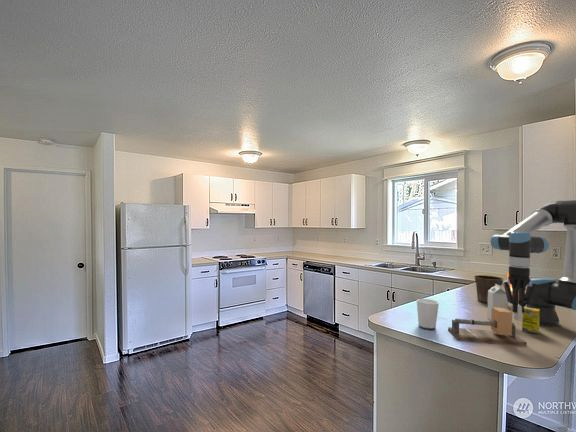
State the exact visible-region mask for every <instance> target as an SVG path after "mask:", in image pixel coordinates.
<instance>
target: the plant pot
mask: <svg viewBox="0 0 576 432" xmlns="http://www.w3.org/2000/svg"><path fill="white" fill-rule="evenodd" d="M473 276H474V277H473V278H474V282H475V285H476V297H477V301H478V302H482V303H484V304H488V290H490V289H491V288H492V287H494V286H495V284H497V285H499V286H501V287H502V286H503V284H502V281H504V278H502V277H499V276H494V275H486V274H485V275H484V274H483V275H481V274H479V275H477V274H476V275H473Z"/></svg>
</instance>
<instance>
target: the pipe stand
mask: <svg viewBox="0 0 576 432" xmlns="http://www.w3.org/2000/svg"><path fill="white" fill-rule="evenodd" d="M460 324H462V325H470V326H471V325H472V326H473V325H474V326H475V325H476V326H487V327H488V326H489V327H491V326H497V322H495V321H491V320H481V319H465V318H455V319H452V320H451V326H450V327H448V328H447V329H448V332H449V333H450V334H451V335H452V336H453V337H454V338H456V340H457V341H465V342H475V341H476V342H477V343H488V344H489V343H490V344H500V345H501V344H502V345H514V346H523V347H524V346H525V347H526V346H527V341H525V340H524V339H522V338H521V337H519V336H518V335H516V325H515V323H514V322H512V336H511V335H499V334H498V333H496V332H495V331H493V330H491V329H490V330H489V329H476V328H475V329H474V328H463V327H460ZM476 342H475V343H476Z"/></svg>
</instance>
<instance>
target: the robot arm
mask: <svg viewBox="0 0 576 432" xmlns="http://www.w3.org/2000/svg"><path fill="white" fill-rule="evenodd" d="M551 224H563V227H564V228H565V229H566V240H565V250H564V252H565V254H564V263H563V273H562V277H560V278H559V279H558V281H557V279H555V278H550V277H549V278H548V277H546V278H545V277H532V278H530V276H531V271H530V270H531V269H530V267H531V254H543V253H545V252H546V251H548V249H549V247H550V244H549V241H548V240H547V238H544V237H542V236H532V235H533V234H534V233H536V232H537V231H538V230H540V229H542V228H543V227H547V226H549V225H551ZM490 246H491V247H492V248H493V249H494V250H498V251H499V250H500V251H508V252H509V253H508V265H509V267H508V271H509V277H508V280H507V279H506V280H503V281H502V286H503V287H504V291H505V292H506V296H507V300H508V304H511V305H512V313H513V314H514V320H515V321H518V322H522V314H523V313H524V307H529V308H534V309H540V322H539V326H546V327H559V326H560V319H559V316H558V313H557V311H556V306H557V307H561V308H565V309H570V310H572V311H576V200H572V199H571V200H555V201H552V202H549V203H547V204H544V205H542V206H540V207H538V208H536V209H535V210H534V211H532V212H531V215H529V216H528V217H527V218H525V219H523V220H522V221H520V222H519V223H517V224H516V225H515V226H513V227H512V228H510V229H509V230H507V231H506V232H504V233H502V234H501V233H500V234H499V233H498V234H493V235H492V236H491V238H490ZM510 284H511V285H512V293H511V289H510V286H509V285H510ZM518 292H519V299H518Z"/></svg>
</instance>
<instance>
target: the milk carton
mask: <svg viewBox="0 0 576 432" xmlns="http://www.w3.org/2000/svg"><path fill="white" fill-rule="evenodd" d="M491 307H497V308H505V309H506V310H508V311H509V302H508V300H507V296H506V292H505V290H504V289H502V285H501V286H499V285H497V284H495V286H494V287H492V288H491V289H490V290H488V303H487V314H486V315H487V316H486V317H487V319H488V321H491Z"/></svg>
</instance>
